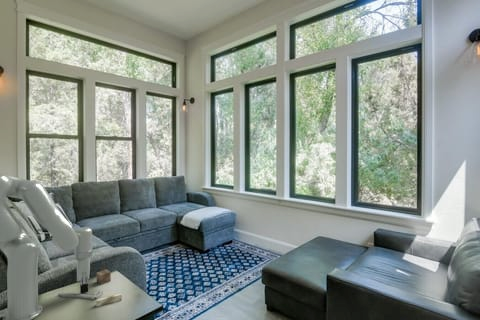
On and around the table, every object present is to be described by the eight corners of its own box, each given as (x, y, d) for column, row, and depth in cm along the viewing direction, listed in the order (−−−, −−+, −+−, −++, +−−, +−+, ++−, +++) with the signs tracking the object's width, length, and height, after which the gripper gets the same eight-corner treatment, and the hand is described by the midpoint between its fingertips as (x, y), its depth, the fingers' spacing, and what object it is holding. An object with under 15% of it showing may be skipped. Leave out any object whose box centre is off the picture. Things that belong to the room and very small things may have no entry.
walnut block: (100, 285, 131) (100, 275, 131) (96, 282, 134) (96, 272, 134) (110, 281, 135) (110, 272, 135) (106, 278, 138) (106, 269, 138)
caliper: (103, 290, 123) (97, 298, 117) (103, 293, 123) (97, 300, 117) (58, 292, 121) (50, 300, 115) (59, 295, 121) (50, 302, 115)
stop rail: (96, 306, 112) (96, 301, 111) (96, 304, 113) (96, 299, 113) (121, 300, 117) (121, 294, 117) (121, 298, 118) (121, 292, 118)
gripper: (74, 250, 127) (75, 287, 127) (73, 261, 114) (74, 301, 114) (91, 247, 131) (92, 283, 131) (93, 257, 118) (94, 296, 118)
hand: (84, 291), depth 123 cm, fingers closed
